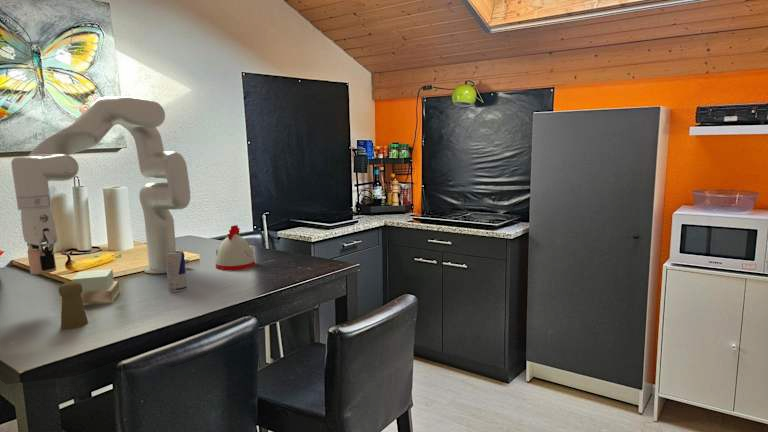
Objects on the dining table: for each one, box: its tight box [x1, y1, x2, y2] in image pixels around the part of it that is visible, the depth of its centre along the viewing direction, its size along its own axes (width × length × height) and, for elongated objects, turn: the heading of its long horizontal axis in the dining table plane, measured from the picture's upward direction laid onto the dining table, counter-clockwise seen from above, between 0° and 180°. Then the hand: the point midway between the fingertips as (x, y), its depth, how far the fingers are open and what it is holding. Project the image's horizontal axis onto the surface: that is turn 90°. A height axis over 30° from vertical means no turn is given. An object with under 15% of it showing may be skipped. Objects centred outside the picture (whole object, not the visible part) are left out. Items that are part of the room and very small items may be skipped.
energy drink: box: [166, 250, 188, 293], centre depth 162 cm, size 5×5×12 cm
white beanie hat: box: [215, 224, 256, 271], centre depth 192 cm, size 14×14×15 cm
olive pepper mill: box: [58, 281, 89, 330], centre depth 132 cm, size 6×6×11 cm
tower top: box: [71, 268, 115, 292], centre depth 154 cm, size 9×9×4 cm
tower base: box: [81, 280, 121, 306], centre depth 155 cm, size 11×11×4 cm
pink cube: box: [27, 247, 57, 275], centre depth 143 cm, size 6×6×6 cm
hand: (43, 267), depth 143 cm, fingers closed on pink cube, 6 cm apart
